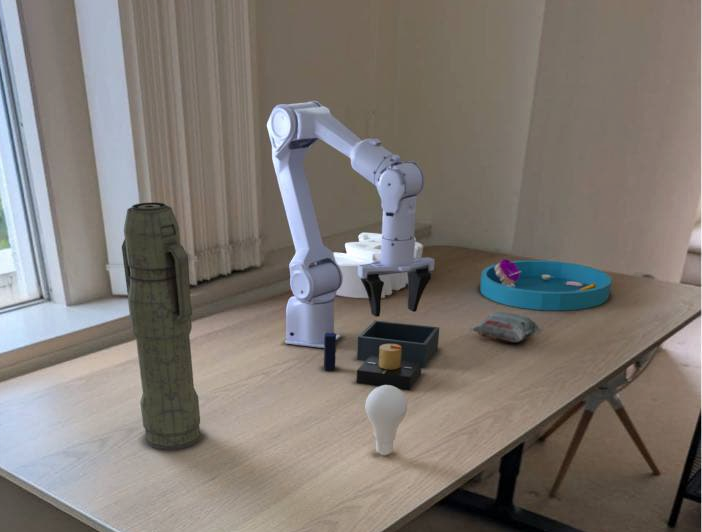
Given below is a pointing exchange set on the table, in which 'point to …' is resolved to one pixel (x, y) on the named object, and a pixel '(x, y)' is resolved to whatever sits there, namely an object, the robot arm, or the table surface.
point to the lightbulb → (385, 415)
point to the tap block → (389, 374)
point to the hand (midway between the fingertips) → (393, 312)
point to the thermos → (161, 324)
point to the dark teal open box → (399, 340)
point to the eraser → (329, 351)
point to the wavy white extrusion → (364, 254)
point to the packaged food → (506, 327)
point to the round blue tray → (545, 285)
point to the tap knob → (390, 356)
